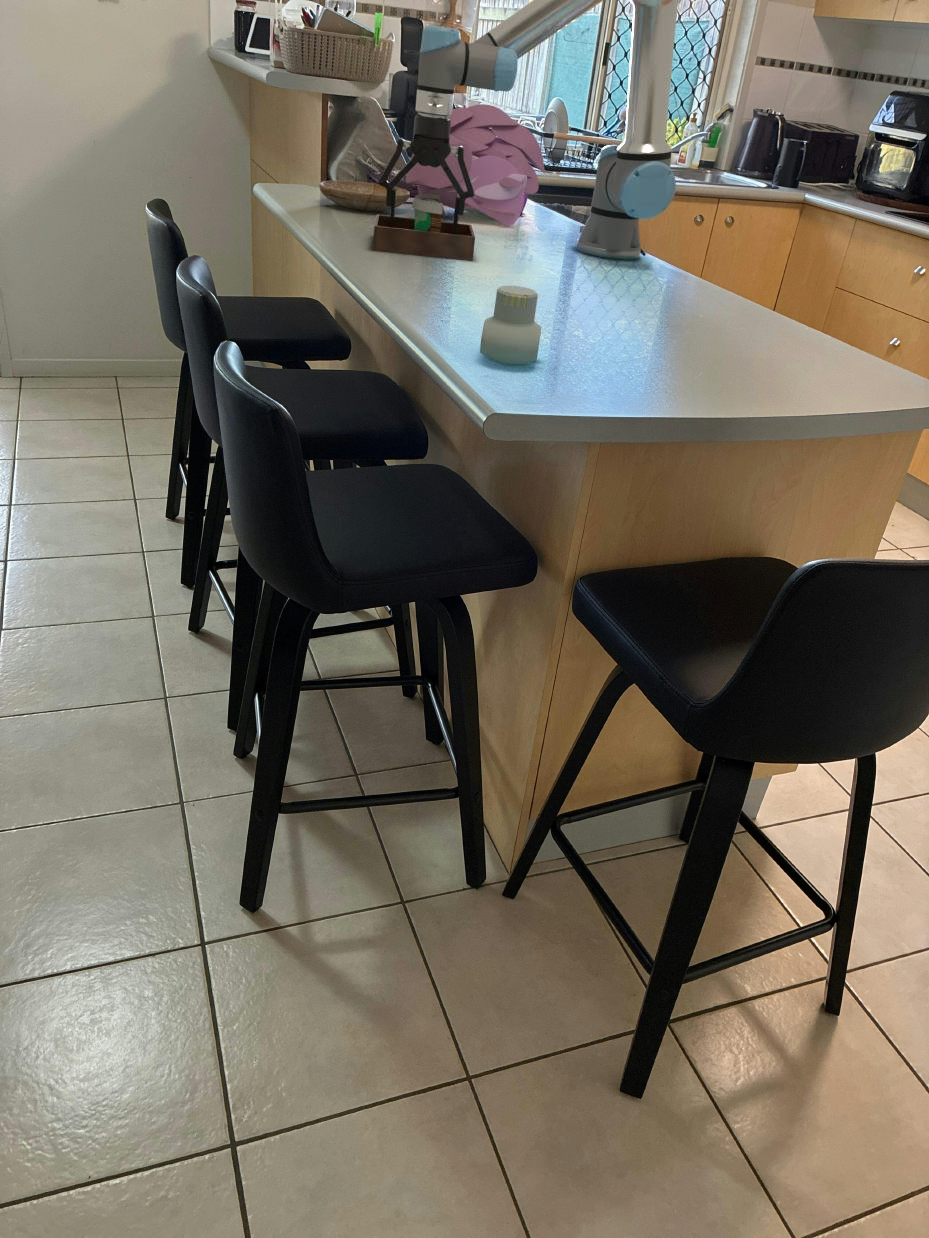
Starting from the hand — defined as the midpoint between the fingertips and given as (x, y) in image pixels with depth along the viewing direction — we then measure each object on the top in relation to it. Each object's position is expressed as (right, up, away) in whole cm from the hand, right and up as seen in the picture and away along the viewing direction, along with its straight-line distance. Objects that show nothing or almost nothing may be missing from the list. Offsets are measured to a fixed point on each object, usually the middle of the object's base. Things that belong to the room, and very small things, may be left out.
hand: (423, 227), depth 197 cm
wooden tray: (0, -4, +2) cm, 4 cm away
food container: (0, -4, +2) cm, 4 cm away
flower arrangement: (+11, +23, +47) cm, 54 cm away
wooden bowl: (-17, +23, +41) cm, 50 cm away
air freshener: (+15, -47, -63) cm, 80 cm away
